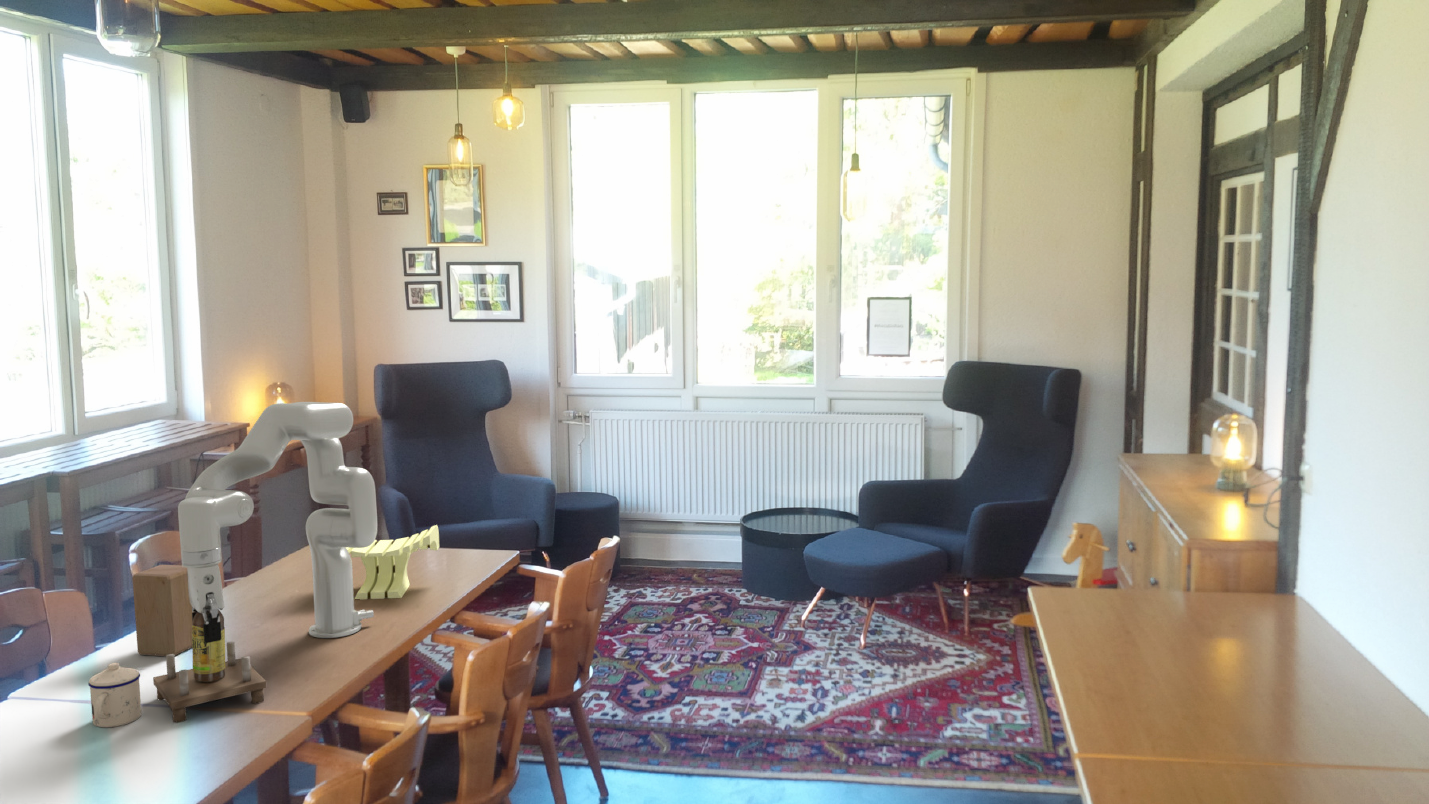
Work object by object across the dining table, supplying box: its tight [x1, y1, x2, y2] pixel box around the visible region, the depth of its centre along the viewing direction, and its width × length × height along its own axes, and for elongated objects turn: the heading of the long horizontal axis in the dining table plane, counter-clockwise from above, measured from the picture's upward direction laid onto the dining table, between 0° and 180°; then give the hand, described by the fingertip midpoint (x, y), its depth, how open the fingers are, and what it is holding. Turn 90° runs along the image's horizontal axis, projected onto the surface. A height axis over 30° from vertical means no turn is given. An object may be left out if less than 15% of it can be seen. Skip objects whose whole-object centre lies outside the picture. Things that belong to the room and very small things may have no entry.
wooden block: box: [131, 564, 193, 657], centre depth 250 cm, size 10×10×20 cm
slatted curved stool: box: [346, 524, 440, 601], centre depth 299 cm, size 30×16×18 cm, turn 96°
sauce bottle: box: [191, 599, 226, 682], centre depth 219 cm, size 6×6×20 cm
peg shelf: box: [152, 641, 267, 723], centre depth 220 cm, size 18×18×10 cm
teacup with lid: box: [87, 662, 142, 728], centre depth 209 cm, size 12×9×12 cm
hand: (207, 635), depth 219 cm, fingers open, 9 cm apart
